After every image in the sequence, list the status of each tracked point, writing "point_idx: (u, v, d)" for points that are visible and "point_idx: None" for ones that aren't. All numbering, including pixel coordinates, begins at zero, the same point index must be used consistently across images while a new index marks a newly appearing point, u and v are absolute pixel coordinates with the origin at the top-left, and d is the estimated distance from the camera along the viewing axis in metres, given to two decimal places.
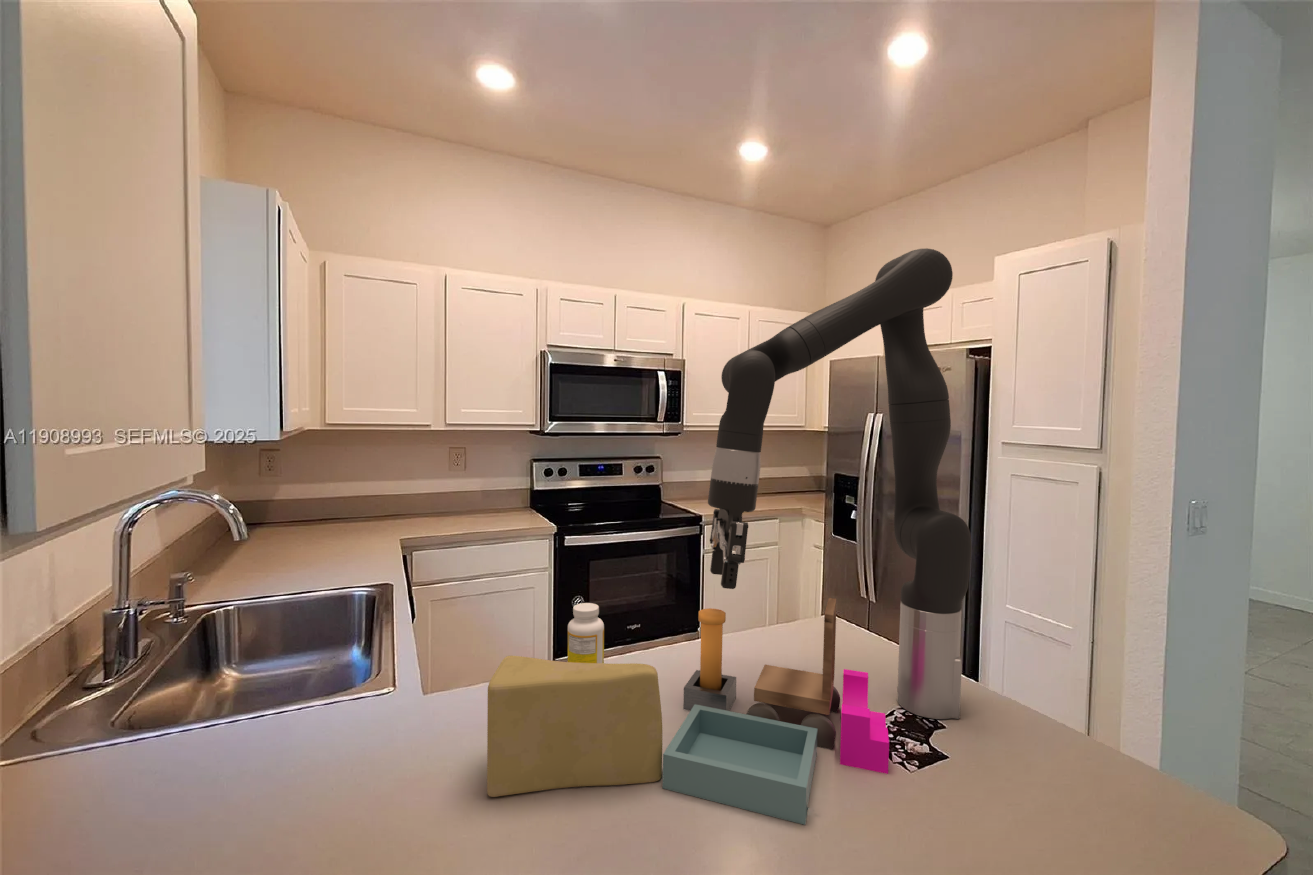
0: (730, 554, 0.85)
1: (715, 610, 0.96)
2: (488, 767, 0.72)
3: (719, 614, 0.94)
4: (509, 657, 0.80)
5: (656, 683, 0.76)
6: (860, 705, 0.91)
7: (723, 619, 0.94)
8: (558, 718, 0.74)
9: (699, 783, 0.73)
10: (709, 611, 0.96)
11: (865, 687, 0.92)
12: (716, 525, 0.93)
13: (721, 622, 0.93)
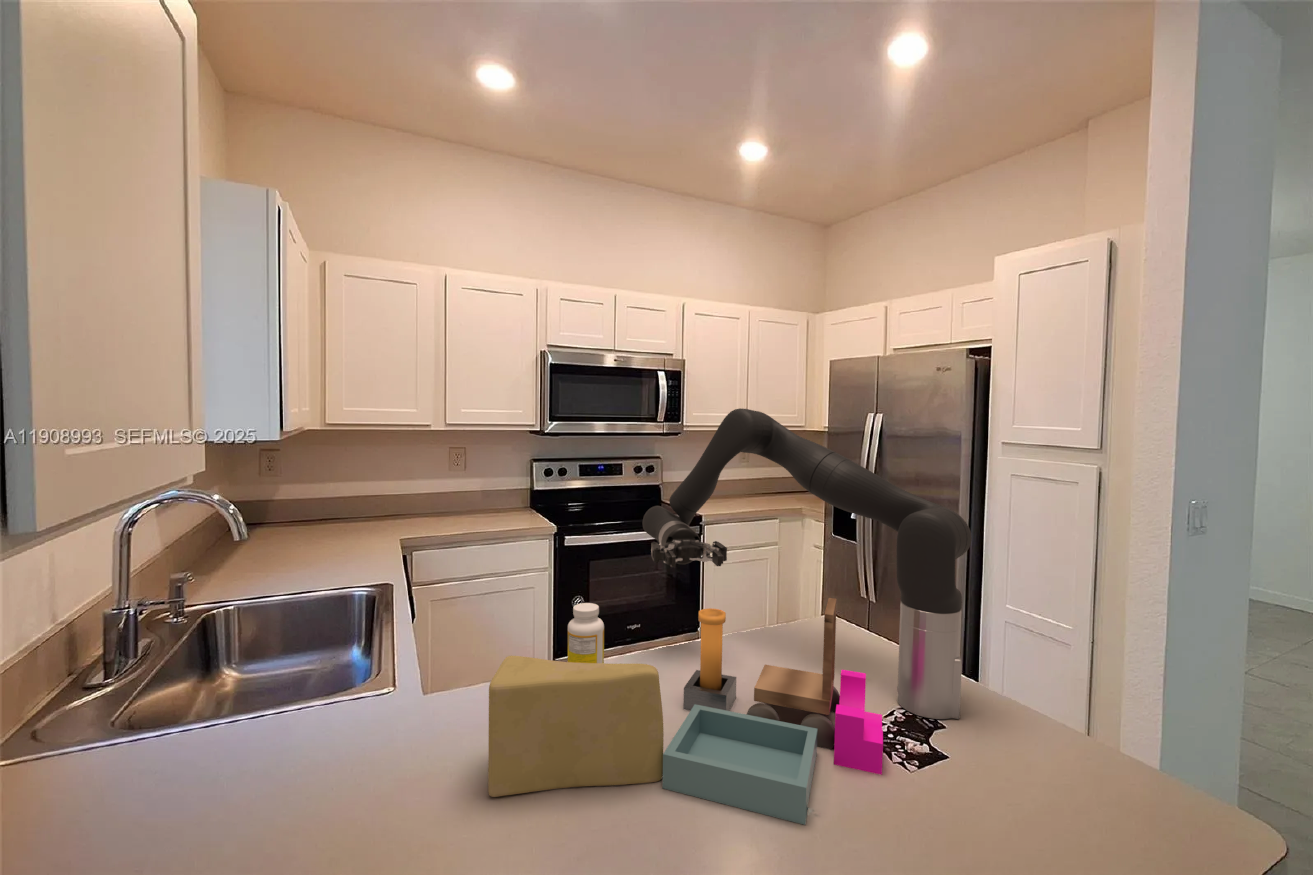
0: (653, 559, 1.10)
1: (715, 610, 0.96)
2: (489, 767, 0.72)
3: (719, 614, 0.94)
4: (510, 657, 0.80)
5: (657, 683, 0.76)
6: (857, 706, 0.90)
7: (723, 619, 0.94)
8: (559, 718, 0.74)
9: (699, 783, 0.73)
10: (709, 611, 0.96)
11: (863, 688, 0.91)
12: (691, 559, 1.14)
13: (721, 622, 0.93)
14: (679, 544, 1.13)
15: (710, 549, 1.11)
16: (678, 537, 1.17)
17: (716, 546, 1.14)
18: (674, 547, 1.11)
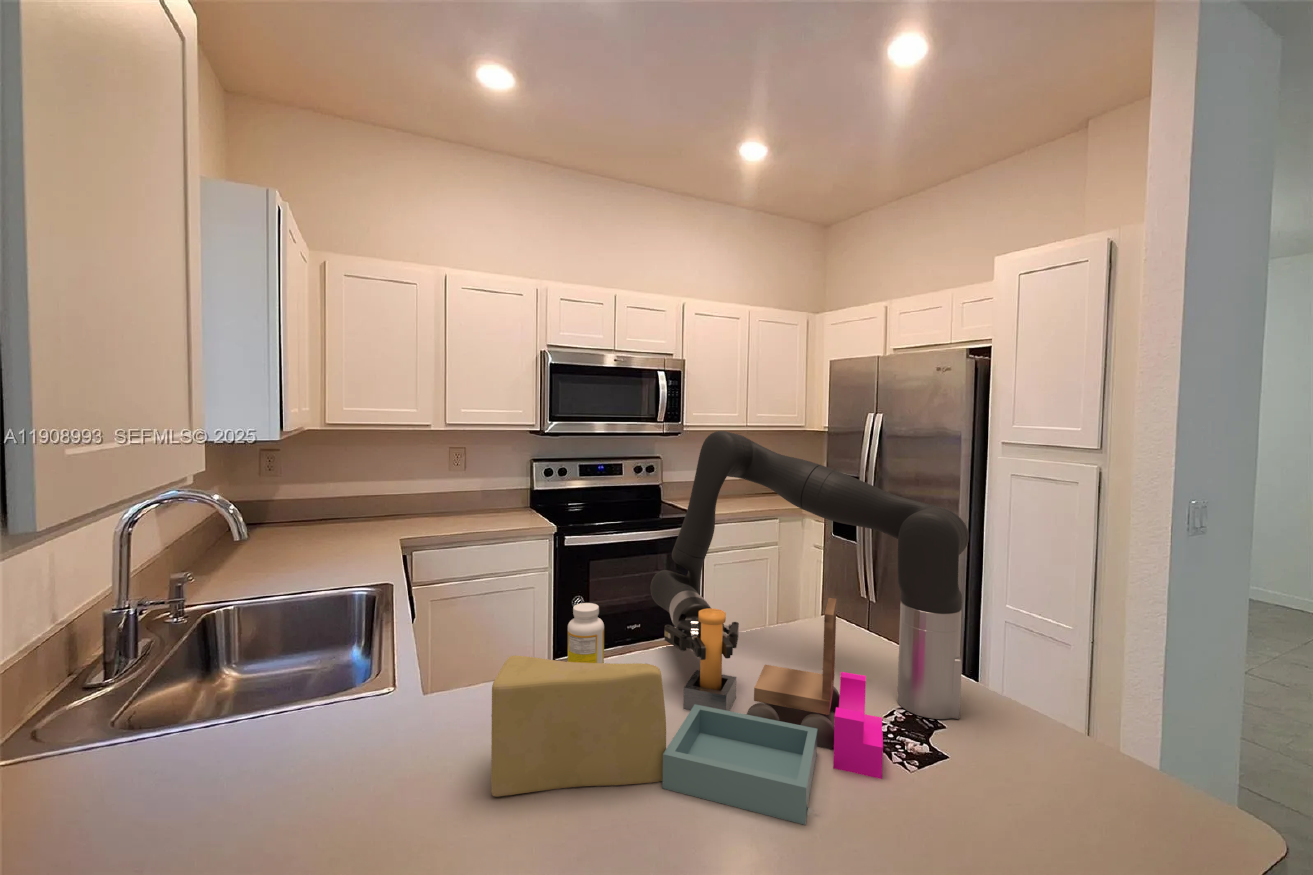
0: None
1: (715, 610, 0.96)
2: (492, 767, 0.73)
3: (719, 614, 0.94)
4: (513, 657, 0.80)
5: (660, 683, 0.76)
6: (857, 708, 0.89)
7: (723, 619, 0.94)
8: (562, 718, 0.74)
9: (699, 783, 0.73)
10: (709, 611, 0.96)
11: (863, 691, 0.91)
12: None
13: (721, 622, 0.93)
14: (697, 625, 1.00)
15: None
16: (692, 615, 1.05)
17: (730, 629, 1.01)
18: (697, 631, 0.98)
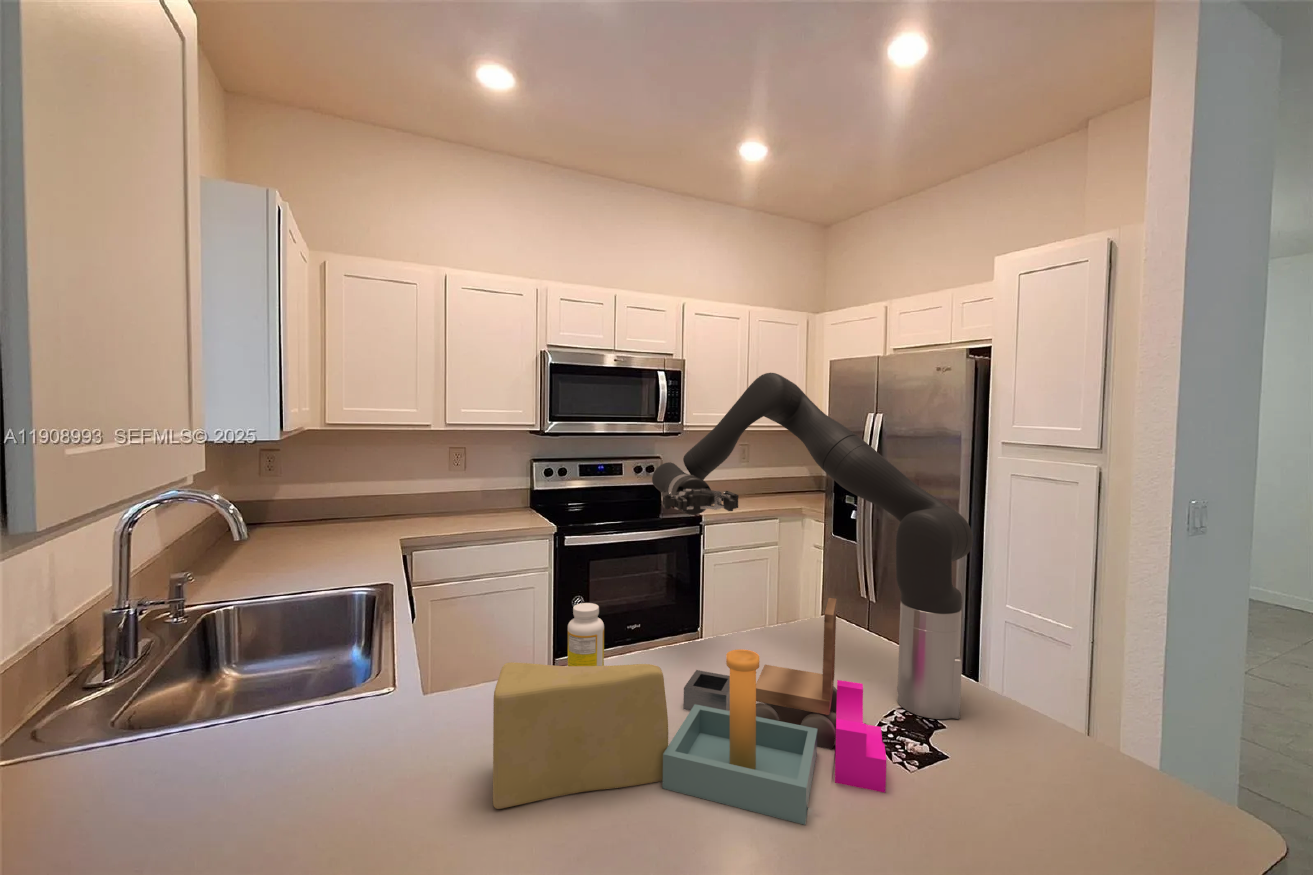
0: (664, 506, 1.09)
1: (746, 652, 0.79)
2: (495, 778, 0.70)
3: (752, 657, 0.78)
4: (509, 664, 0.78)
5: (662, 682, 0.76)
6: (855, 718, 0.87)
7: (757, 664, 0.77)
8: (566, 724, 0.72)
9: (699, 783, 0.73)
10: (739, 654, 0.79)
11: (860, 699, 0.88)
12: (702, 508, 1.13)
13: (755, 668, 0.77)
14: (690, 492, 1.11)
15: (721, 496, 1.10)
16: (688, 487, 1.16)
17: (727, 495, 1.13)
18: (685, 494, 1.10)
